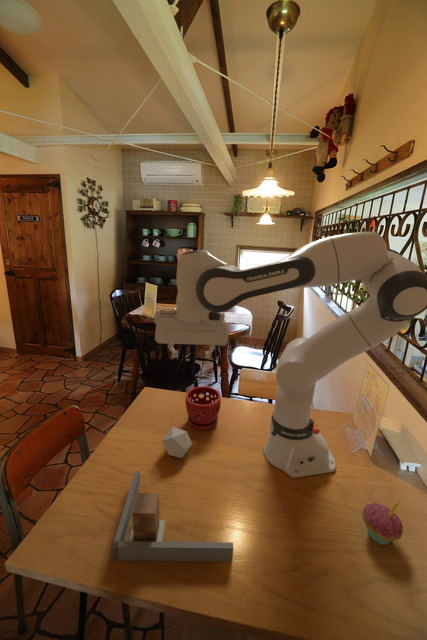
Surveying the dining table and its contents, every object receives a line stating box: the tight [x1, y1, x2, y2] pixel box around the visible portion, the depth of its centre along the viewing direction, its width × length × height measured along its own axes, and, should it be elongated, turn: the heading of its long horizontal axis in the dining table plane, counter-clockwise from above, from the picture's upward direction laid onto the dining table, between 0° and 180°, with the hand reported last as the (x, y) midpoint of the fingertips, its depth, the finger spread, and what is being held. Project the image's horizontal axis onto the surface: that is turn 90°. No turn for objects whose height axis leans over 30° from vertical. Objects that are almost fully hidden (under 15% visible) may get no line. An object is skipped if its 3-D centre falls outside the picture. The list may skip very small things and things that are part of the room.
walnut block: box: [131, 492, 160, 542], centre depth 65 cm, size 5×5×10 cm
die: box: [161, 426, 193, 459], centre depth 91 cm, size 8×9×10 cm
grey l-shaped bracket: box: [111, 470, 234, 562], centre depth 70 cm, size 26×20×4 cm
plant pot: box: [185, 385, 222, 430], centre depth 106 cm, size 13×13×12 cm
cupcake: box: [361, 499, 404, 546], centre depth 67 cm, size 9×8×12 cm
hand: (191, 357), depth 80 cm, fingers open, 8 cm apart
